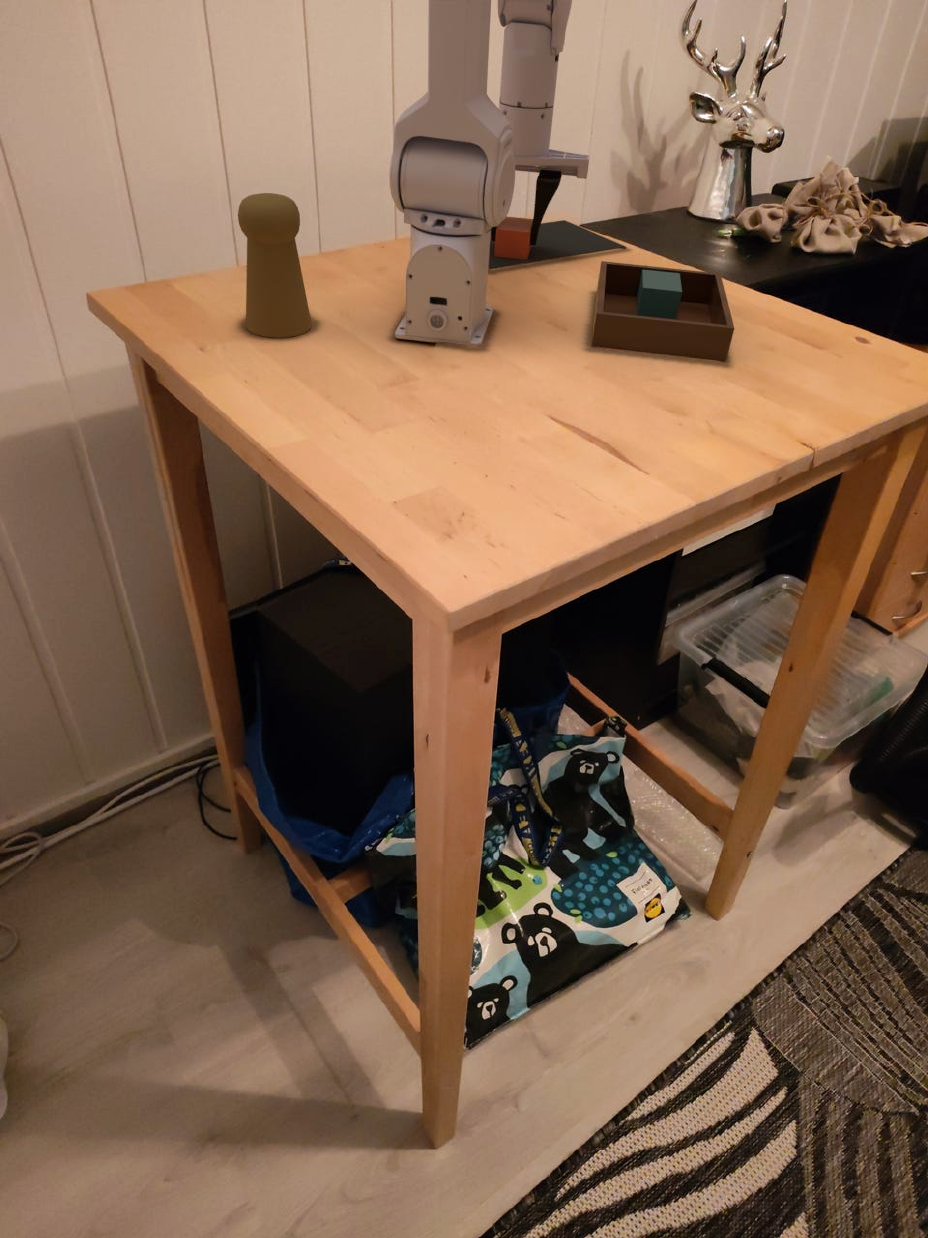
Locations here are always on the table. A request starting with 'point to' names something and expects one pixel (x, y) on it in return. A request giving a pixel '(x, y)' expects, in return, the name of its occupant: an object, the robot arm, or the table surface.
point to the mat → (557, 244)
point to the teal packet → (659, 294)
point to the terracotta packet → (513, 238)
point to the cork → (273, 267)
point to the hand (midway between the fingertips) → (514, 240)
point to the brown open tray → (691, 335)
